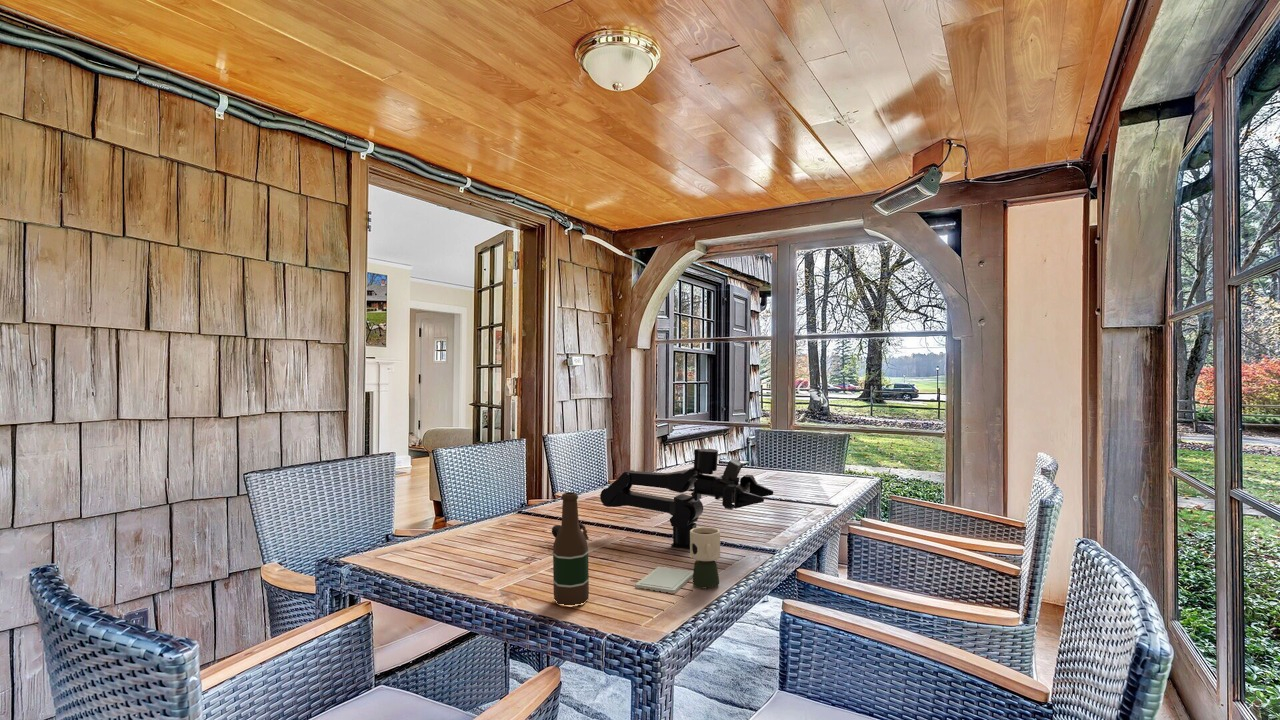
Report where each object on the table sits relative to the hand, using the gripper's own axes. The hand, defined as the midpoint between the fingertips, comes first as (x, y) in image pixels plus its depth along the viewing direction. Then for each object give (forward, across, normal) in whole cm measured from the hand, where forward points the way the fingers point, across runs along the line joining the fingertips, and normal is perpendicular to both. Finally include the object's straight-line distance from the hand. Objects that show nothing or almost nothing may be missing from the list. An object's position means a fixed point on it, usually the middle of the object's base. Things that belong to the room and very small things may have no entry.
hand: (768, 496), depth 162 cm
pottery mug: (-54, -16, +22) cm, 60 cm away
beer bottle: (-29, -51, +18) cm, 61 cm away
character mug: (-6, -29, +17) cm, 34 cm away
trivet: (-16, -30, +17) cm, 38 cm away
